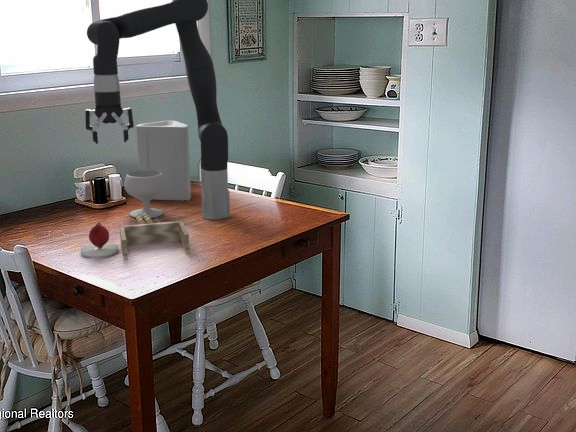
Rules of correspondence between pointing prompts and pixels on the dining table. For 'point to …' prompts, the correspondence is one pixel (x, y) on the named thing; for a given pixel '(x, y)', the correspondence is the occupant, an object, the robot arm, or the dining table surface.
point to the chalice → (145, 189)
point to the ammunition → (146, 219)
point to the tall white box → (166, 156)
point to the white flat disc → (99, 250)
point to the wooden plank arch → (153, 235)
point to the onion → (99, 235)
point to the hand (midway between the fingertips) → (111, 142)
